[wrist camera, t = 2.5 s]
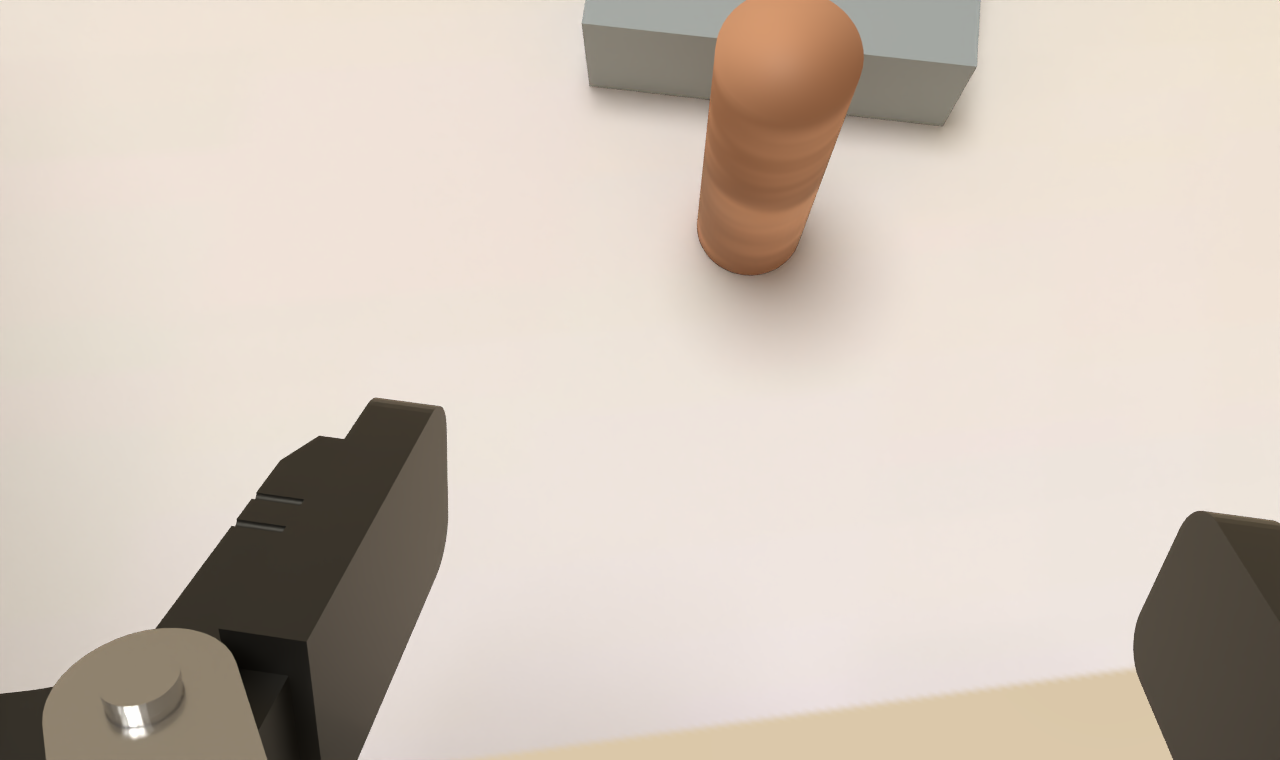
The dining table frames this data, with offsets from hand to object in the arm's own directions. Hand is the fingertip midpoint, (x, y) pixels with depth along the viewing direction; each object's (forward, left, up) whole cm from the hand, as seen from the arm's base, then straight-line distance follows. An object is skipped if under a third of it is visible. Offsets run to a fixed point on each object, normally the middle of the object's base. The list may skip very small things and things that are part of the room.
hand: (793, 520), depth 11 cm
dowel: (-9, +8, -19) cm, 23 cm away
